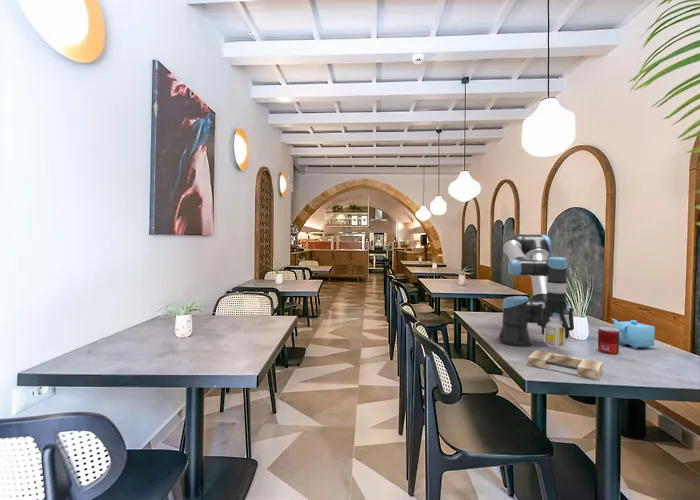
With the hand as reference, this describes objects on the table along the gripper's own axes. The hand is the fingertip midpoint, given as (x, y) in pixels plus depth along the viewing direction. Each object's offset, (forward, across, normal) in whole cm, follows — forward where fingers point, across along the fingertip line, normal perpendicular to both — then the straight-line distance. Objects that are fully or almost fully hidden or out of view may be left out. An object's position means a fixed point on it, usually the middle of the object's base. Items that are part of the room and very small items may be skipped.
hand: (554, 343), depth 161 cm
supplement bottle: (+1, 0, 0) cm, 1 cm away
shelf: (+6, +6, -14) cm, 17 cm away
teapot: (+7, +23, +49) cm, 55 cm away
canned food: (+7, +17, +26) cm, 32 cm away
